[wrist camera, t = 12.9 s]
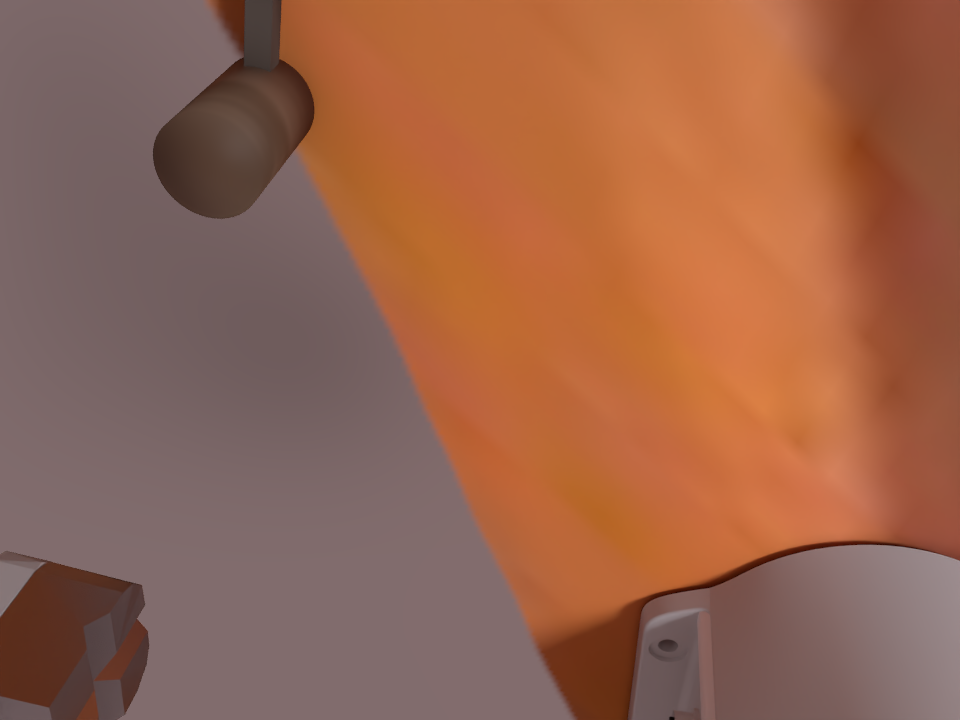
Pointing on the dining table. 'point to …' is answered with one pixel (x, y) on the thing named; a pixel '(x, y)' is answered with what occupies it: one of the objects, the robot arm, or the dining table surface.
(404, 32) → the dining table surface
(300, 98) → the corded block
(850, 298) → the dining table surface
